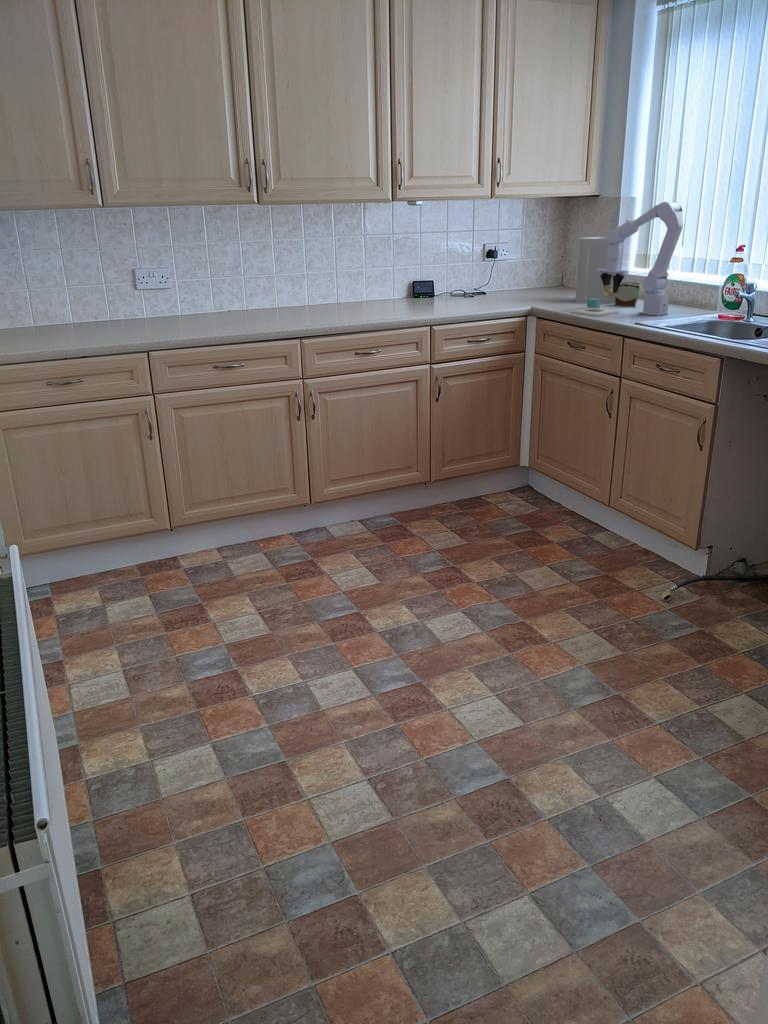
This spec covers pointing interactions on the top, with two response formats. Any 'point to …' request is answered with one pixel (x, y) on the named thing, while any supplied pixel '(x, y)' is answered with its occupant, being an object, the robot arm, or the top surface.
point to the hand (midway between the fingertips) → (610, 292)
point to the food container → (627, 294)
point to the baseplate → (594, 311)
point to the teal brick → (593, 303)
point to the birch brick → (609, 291)
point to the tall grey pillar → (593, 269)
